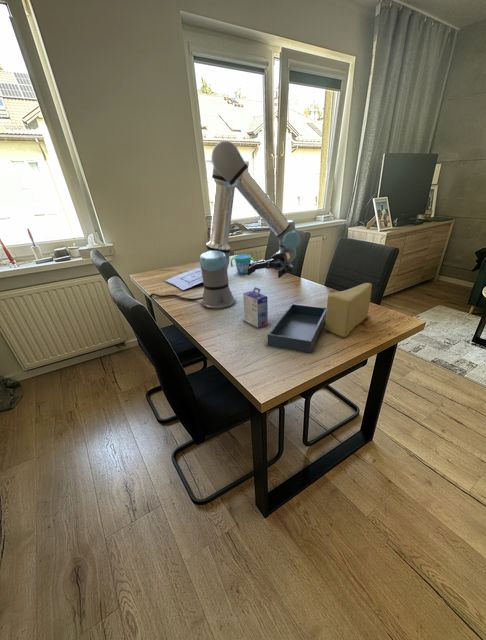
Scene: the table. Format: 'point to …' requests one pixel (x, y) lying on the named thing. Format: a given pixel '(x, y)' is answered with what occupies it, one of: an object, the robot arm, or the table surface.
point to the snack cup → (242, 263)
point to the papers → (187, 279)
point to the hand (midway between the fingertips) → (263, 273)
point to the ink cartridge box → (255, 308)
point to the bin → (298, 328)
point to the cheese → (347, 309)
